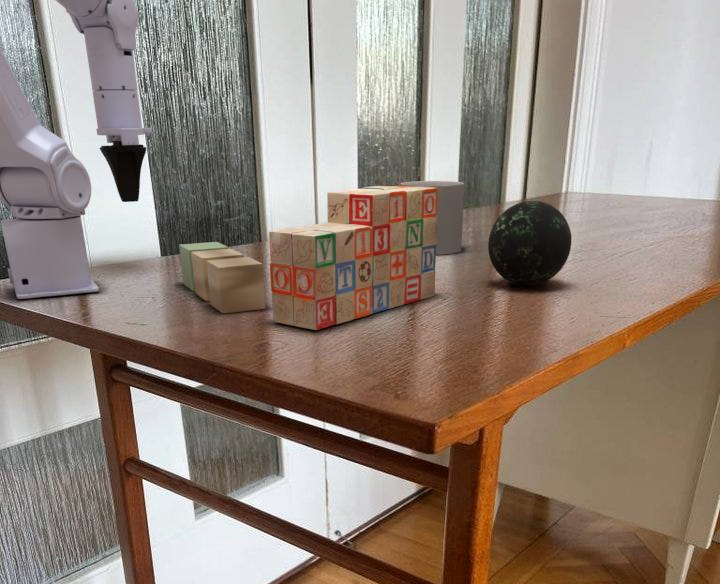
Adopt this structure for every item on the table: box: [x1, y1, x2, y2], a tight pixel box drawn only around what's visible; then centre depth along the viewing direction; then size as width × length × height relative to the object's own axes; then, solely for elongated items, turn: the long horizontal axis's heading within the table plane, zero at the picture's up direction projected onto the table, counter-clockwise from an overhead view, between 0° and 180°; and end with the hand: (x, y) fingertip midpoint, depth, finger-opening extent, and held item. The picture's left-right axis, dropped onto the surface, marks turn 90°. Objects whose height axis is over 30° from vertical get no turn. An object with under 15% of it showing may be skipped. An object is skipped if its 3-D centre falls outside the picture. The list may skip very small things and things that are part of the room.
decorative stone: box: [487, 200, 572, 287], centre depth 93 cm, size 10×10×10 cm
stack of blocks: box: [268, 185, 438, 331], centre depth 82 cm, size 21×6×12 cm, turn 141°
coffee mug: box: [399, 180, 465, 256], centre depth 120 cm, size 13×10×10 cm
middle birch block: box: [191, 248, 245, 302], centre depth 90 cm, size 5×5×5 cm
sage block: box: [178, 241, 229, 292], centre depth 96 cm, size 5×5×5 cm
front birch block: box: [206, 256, 266, 315], centre depth 85 cm, size 5×5×5 cm
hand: (130, 201), depth 104 cm, fingers closed
